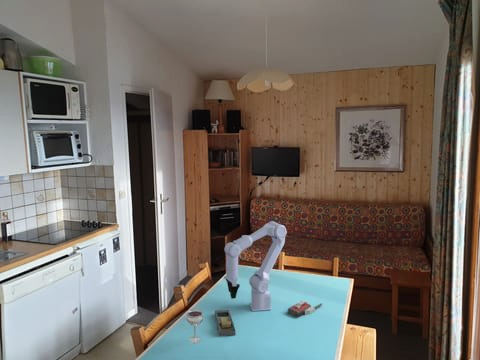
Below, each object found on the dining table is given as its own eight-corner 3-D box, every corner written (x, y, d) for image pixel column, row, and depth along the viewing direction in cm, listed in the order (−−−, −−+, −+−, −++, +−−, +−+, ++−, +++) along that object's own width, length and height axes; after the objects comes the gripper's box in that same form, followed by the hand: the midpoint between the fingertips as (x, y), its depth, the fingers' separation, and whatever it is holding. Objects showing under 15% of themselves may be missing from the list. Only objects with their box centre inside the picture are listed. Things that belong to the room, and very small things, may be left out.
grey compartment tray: (229, 313, 183) (229, 309, 182) (235, 335, 163) (235, 330, 163) (214, 314, 182) (214, 310, 181) (219, 336, 162) (219, 332, 162)
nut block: (229, 327, 170) (229, 316, 169) (231, 331, 166) (231, 321, 165) (220, 328, 169) (220, 317, 168) (222, 332, 165) (222, 321, 165)
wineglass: (189, 345, 155) (189, 318, 153) (185, 337, 161) (184, 311, 160) (205, 342, 157) (205, 315, 156) (200, 334, 164) (200, 308, 162)
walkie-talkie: (300, 321, 176) (323, 307, 191) (300, 312, 176) (323, 298, 190) (285, 314, 183) (309, 301, 197) (285, 306, 182) (309, 293, 196)
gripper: (222, 263, 187) (222, 289, 188) (225, 273, 172) (225, 301, 174) (236, 262, 188) (236, 288, 189) (241, 272, 173) (240, 300, 175)
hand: (232, 294), depth 182 cm, fingers open, 7 cm apart
